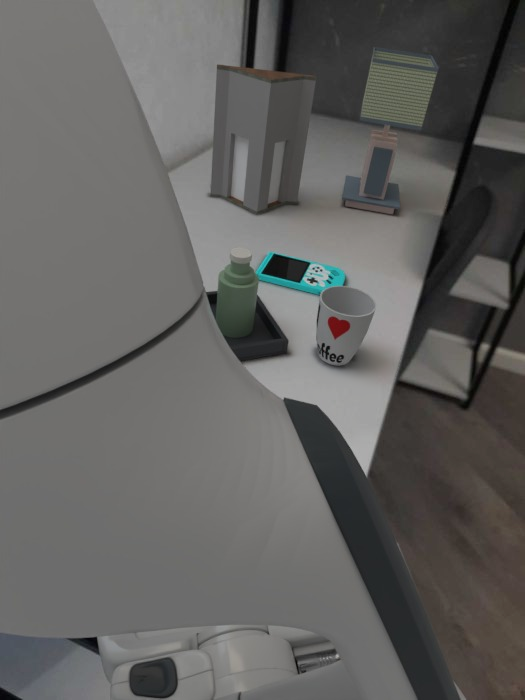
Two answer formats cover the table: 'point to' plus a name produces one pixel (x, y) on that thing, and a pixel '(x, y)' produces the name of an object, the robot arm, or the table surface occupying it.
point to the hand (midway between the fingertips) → (211, 520)
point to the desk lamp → (389, 122)
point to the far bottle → (237, 295)
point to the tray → (256, 334)
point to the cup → (342, 323)
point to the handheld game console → (299, 273)
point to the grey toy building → (260, 136)
